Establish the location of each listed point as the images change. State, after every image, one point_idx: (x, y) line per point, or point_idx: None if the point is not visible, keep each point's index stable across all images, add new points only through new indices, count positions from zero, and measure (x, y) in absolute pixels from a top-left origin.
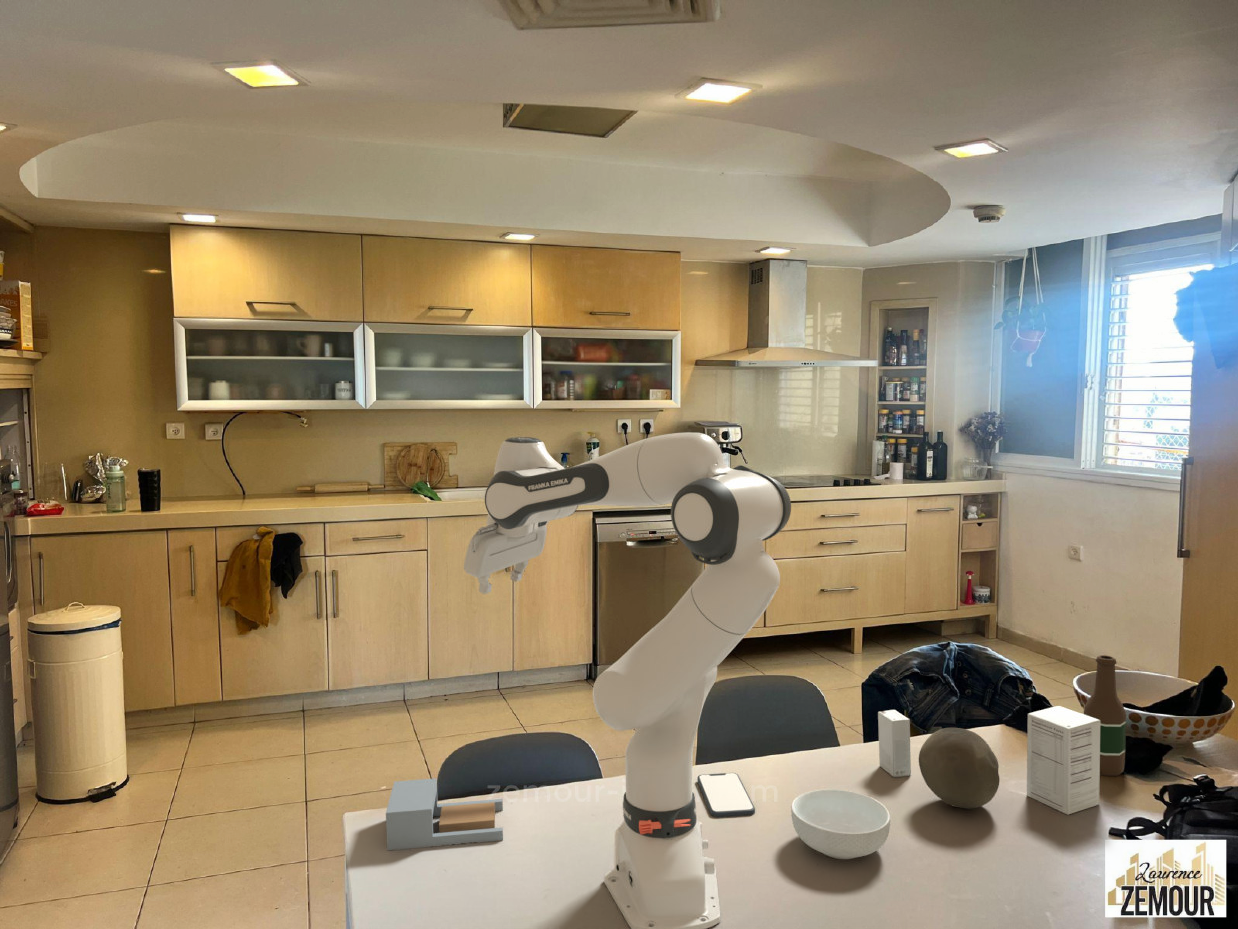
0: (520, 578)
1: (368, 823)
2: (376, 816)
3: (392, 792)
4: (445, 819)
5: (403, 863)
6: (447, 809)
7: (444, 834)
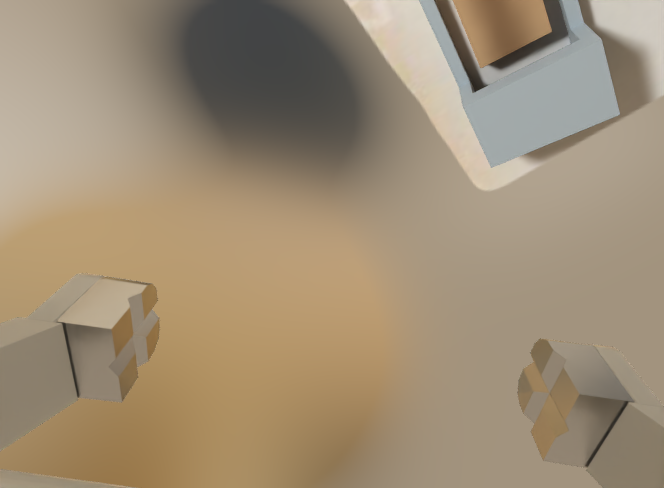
0: (92, 284)
1: (510, 162)
2: (487, 163)
3: (534, 148)
4: (529, 31)
5: (641, 34)
6: (490, 51)
7: (573, 4)
